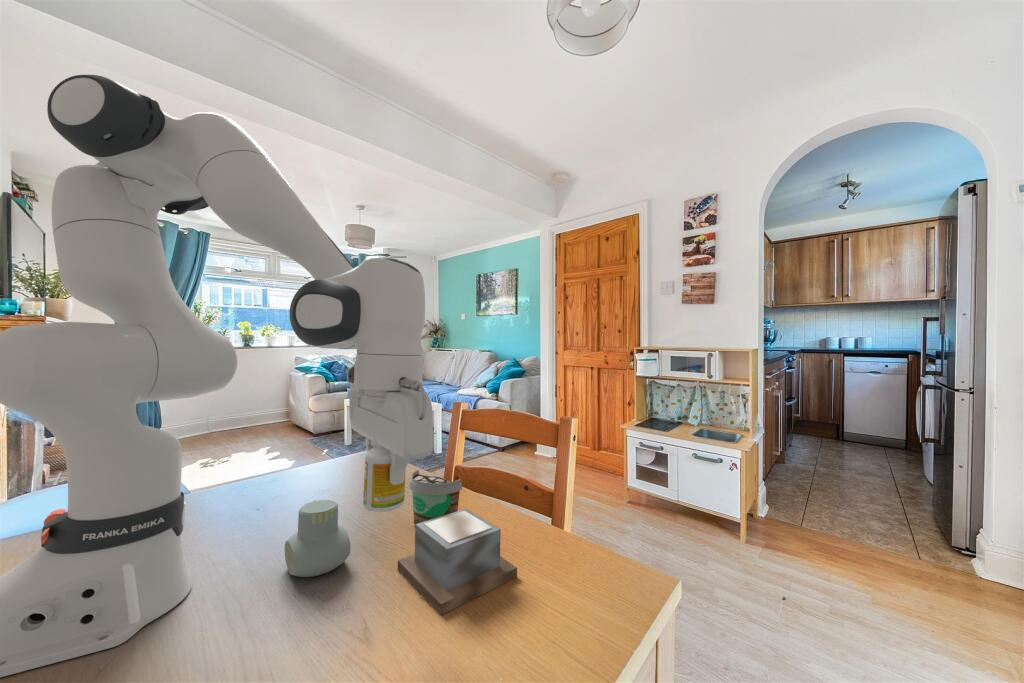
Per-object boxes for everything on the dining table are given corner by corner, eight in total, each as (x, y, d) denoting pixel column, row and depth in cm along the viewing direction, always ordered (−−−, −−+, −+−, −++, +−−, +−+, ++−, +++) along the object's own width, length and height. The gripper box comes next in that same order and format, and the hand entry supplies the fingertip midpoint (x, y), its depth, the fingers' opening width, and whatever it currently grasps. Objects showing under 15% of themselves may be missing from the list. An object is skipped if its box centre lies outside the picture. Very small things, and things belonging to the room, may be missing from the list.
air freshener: (353, 572, 61) (355, 510, 62) (296, 593, 56) (298, 525, 56) (333, 545, 70) (335, 490, 70) (281, 561, 64) (283, 502, 64)
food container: (394, 526, 77) (395, 477, 78) (415, 515, 83) (416, 469, 83) (442, 542, 72) (444, 488, 72) (461, 528, 77) (462, 479, 77)
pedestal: (440, 615, 52) (442, 558, 52) (397, 569, 63) (398, 522, 63) (517, 576, 61) (518, 528, 61) (468, 542, 72) (468, 501, 72)
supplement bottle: (412, 502, 53) (415, 433, 53) (382, 516, 49) (385, 440, 49) (385, 493, 56) (388, 428, 56) (354, 506, 51) (357, 434, 51)
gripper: (448, 381, 47) (443, 494, 46) (383, 369, 62) (379, 454, 62) (400, 383, 43) (394, 507, 42) (343, 370, 58) (338, 460, 58)
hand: (385, 475), depth 52 cm, fingers closed on supplement bottle, 5 cm apart
